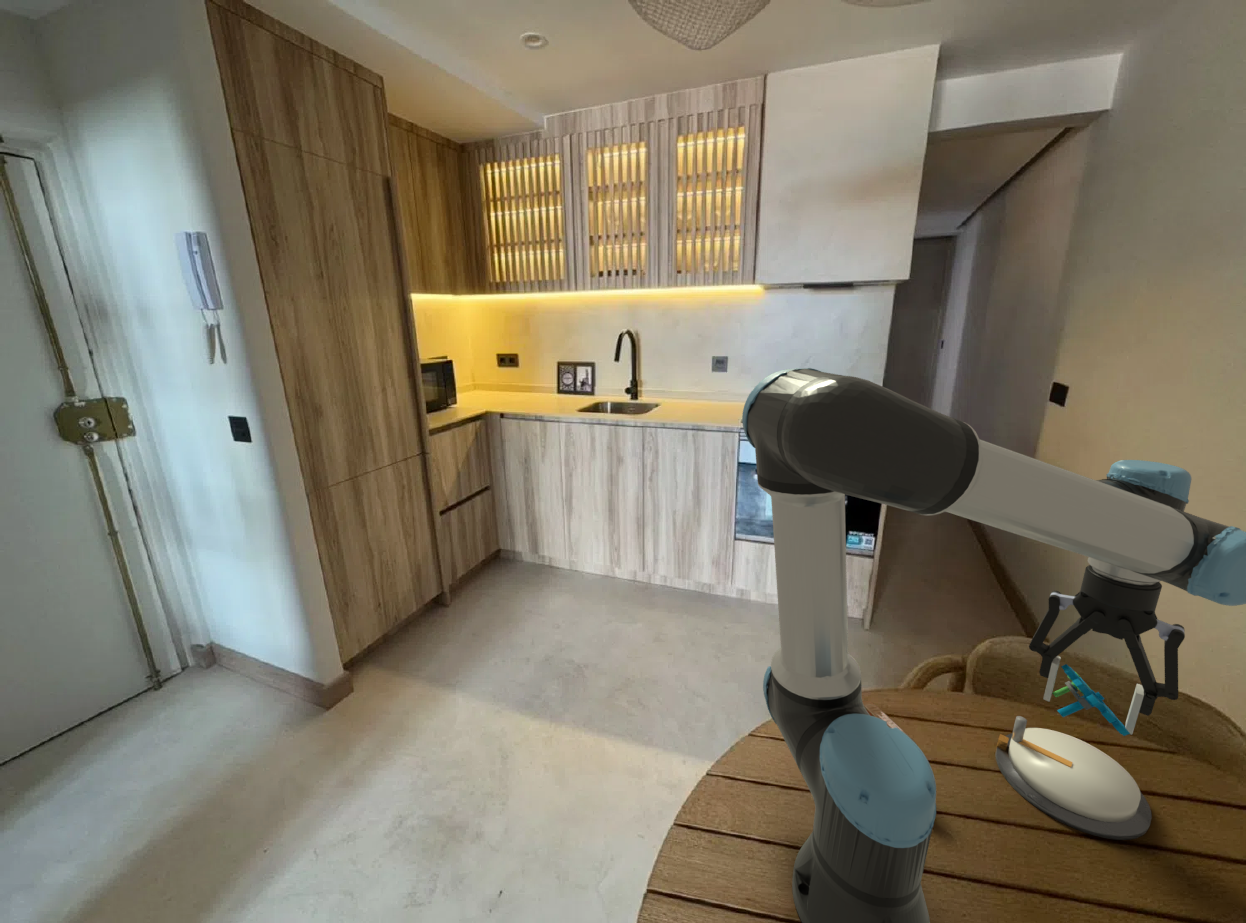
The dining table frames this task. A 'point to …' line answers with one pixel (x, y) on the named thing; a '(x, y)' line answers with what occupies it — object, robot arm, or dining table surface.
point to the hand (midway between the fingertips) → (1086, 711)
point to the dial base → (1094, 827)
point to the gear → (1086, 700)
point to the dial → (1073, 773)
